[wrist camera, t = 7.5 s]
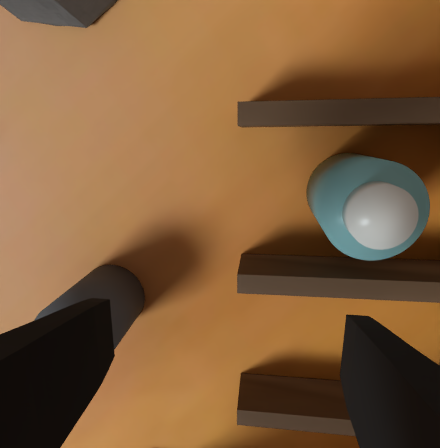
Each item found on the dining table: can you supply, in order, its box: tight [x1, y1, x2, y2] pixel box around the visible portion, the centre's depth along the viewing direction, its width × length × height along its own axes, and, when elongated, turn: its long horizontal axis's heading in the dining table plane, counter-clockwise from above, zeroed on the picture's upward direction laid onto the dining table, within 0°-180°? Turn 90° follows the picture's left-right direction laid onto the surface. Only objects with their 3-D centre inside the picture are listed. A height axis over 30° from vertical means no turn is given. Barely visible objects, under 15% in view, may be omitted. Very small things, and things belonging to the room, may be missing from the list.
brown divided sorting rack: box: [237, 97, 440, 436], centre depth 17 cm, size 17×12×4 cm
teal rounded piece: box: [306, 153, 430, 261], centre depth 15 cm, size 4×4×6 cm
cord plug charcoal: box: [34, 265, 145, 349], centre depth 19 cm, size 4×4×6 cm
